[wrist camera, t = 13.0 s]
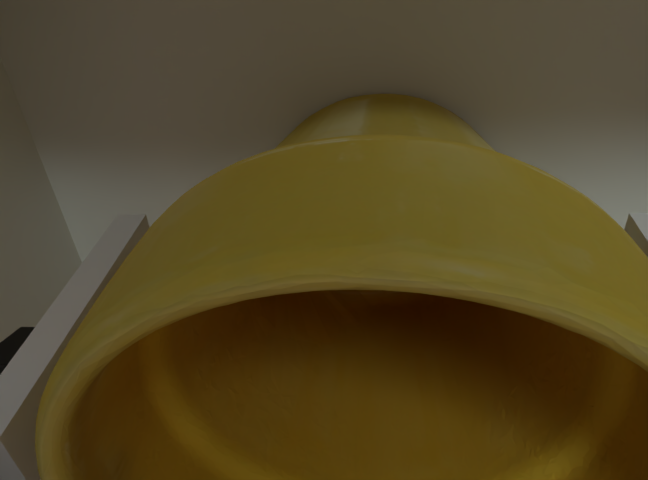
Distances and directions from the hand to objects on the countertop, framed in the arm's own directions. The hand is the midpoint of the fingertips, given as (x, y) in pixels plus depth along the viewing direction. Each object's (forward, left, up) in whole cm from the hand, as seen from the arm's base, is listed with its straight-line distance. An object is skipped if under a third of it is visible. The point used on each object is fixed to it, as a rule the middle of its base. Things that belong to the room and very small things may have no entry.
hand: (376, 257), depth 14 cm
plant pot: (0, 0, -3) cm, 3 cm away
